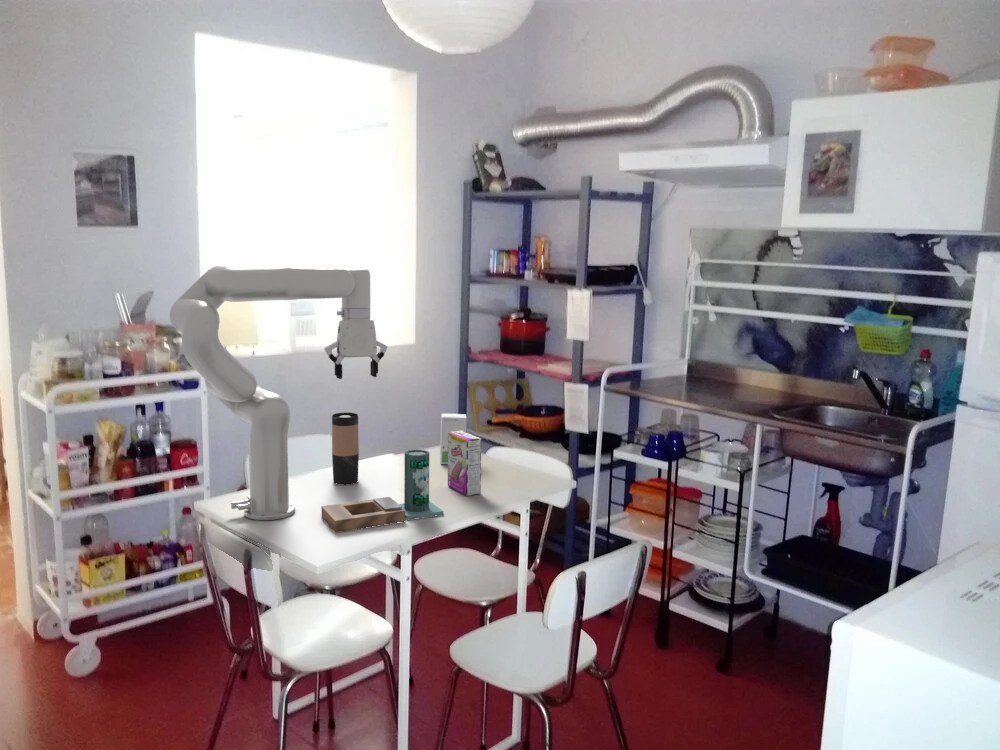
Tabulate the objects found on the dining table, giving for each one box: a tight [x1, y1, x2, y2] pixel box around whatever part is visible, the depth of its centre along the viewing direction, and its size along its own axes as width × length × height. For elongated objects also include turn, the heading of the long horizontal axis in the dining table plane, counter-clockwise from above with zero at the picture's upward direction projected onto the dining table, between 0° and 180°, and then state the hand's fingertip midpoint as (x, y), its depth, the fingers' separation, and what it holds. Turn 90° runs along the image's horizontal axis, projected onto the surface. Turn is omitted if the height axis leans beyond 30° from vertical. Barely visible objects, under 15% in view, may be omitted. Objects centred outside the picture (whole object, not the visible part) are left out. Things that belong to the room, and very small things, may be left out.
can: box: [403, 449, 430, 512], centre depth 205 cm, size 6×6×15 cm
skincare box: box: [439, 413, 468, 465], centre depth 254 cm, size 8×7×16 cm
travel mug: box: [331, 412, 360, 486], centre depth 230 cm, size 8×8×20 cm
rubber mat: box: [398, 500, 444, 521], centre depth 206 cm, size 10×10×1 cm
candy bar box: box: [447, 430, 482, 497], centre depth 224 cm, size 11×5×16 cm, turn 34°
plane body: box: [320, 496, 406, 533], centre depth 199 cm, size 18×12×4 cm, turn 118°
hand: (356, 377), depth 214 cm, fingers open, 9 cm apart
